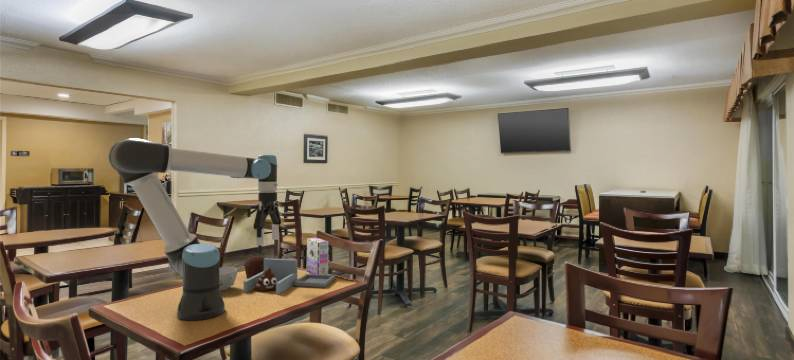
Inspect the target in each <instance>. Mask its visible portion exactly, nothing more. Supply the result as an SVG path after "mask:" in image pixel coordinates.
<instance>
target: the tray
mask: <svg viewBox="0 0 794 360" xmlns="http://www.w3.org/2000/svg"><path fill="white" fill-rule="evenodd" d="M334 281H336V275H335V274H329V275H319V274H312V273H305V274H304V275H302V276H300V277H299V278H297V280H296V281H294V285H293V287H300V288H317V289H318V288H319V289H326V288H327V287H328V286H329V285H331V284H332V283H333V282H334Z"/></svg>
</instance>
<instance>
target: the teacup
mask: <svg viewBox="0 0 794 360" xmlns="http://www.w3.org/2000/svg"><path fill="white" fill-rule="evenodd" d="M237 276H238V268H236V267H233V266H227V267H225V266H221V267H219V289H220V292H222V291H227V290H230V288H231V287H232V286H234V285H235V281H236V279H237Z"/></svg>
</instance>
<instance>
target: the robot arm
mask: <svg viewBox="0 0 794 360" xmlns="http://www.w3.org/2000/svg"><path fill="white" fill-rule="evenodd" d="M108 161H109V164H110V166H111V168H113V169H114V170H115V171H116V172H117V174H118V175H119V177H120V179H121V180H122V182H123V184H124V185H127V186H130V187H131V188H132V189H133V191H134V192H135V193H134V194H135V195H136V197H138V199H139V201H140V204H141V205H142V206H143V208H144V210H145V211H146V214H147V215H148V217H149V219H150V220H151V222H152V224H153V225H154V227H155V229H156V230H157V232H158V234H159V235H160V238H161V239H162V241H163V243H164V245H165V246H164V249H163V252H164V254H165V256H166V257H167V259H168V263H169V265H170V267H171V269H172V271H174V272H175V273H177V274H179V275H180V276H182V294H181V297H180V300H179V303H178V306H177V309H176V313H177V314H176V317H177V318H178V319H180V320H183V321H201V320H207V319H211V318H215V317H218V316H220V315H222V314H223V313H224V312H225V310H226V307H225V301H224V298H223V295H222V293H221V291H220V289H219V268H220V258H221V256H220V250H219V248H218V246H216V245H213V244H208V243H201V242H200V240H199V239H198V237H197V235H196V234H194V233H190V232H189V230H188V228H187V226H186V224H185V223H184V221H183V219H182V218H181V215H180V214H179V212H178V210H177V208H176V207H175V205H174V203H173V201H172V199H171V197H170V196H169V194H168V192H167V190H166V189H165V187H164V185H163V183H162V181H161V179H160V178H159V176H158V174H159V173H161V174H166V173H167V172H171V171H173V172H180V173H181V172H183V173H191V174H192V173H193V174H204V175H212V176H225V177H230V178H231V179H253V180H255V179H256V180H258V183H257V184H258V188H257V189H258V191H259V192H258V195H257V196H258V202H261V203H260V204H257V206H256V213H255V218H254V221H253V222H254V223H253V230H256V246H264V245H265V228H264V226H265V222H266V220H267V217H268V216H269V218H270V220H271V222H272V224H271V240H275V241H277V240H279V235H280V234H279V229H280V228H279V225H282V218H281V215H280V210H279V204H278V202H277V201H278V193H277V191H278V186H279V185H278V184H279V183H278V159H277V156H276V155H275V154H260V155H258V156H257V158H253V157H244V156H236V155H229V154H224V153H223V154H222V153H213V152H207V151H205V152H204V151H199V150H190V149H189V150H188V149H181V148H175V147H174V148H173V147H172V146H170V145H169V144H167V143H161V142H155V141H150V140H147V139H142V138H138V137H135V138H134V137H133V138H132V137H131V138H126V139H122V140H120V141H117V142H116V143H114V144H113V146H112V147H111V148H110V150H109V152H108ZM263 228H264V229H263Z"/></svg>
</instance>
